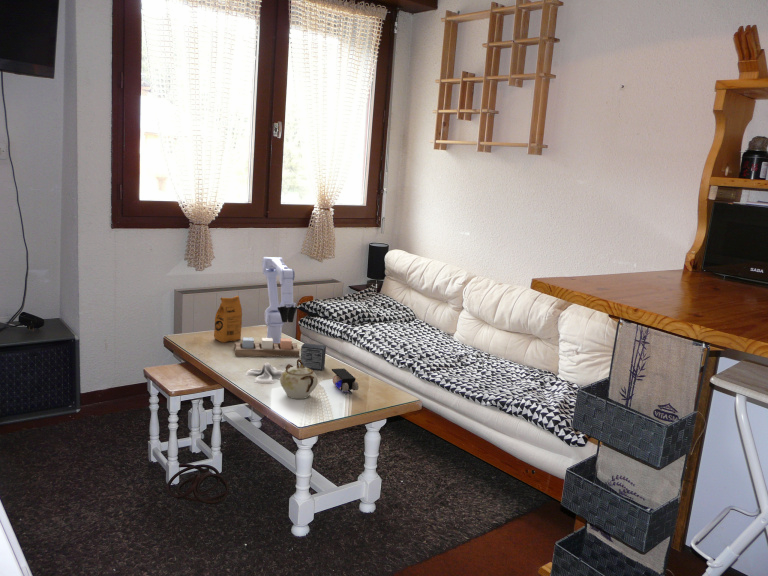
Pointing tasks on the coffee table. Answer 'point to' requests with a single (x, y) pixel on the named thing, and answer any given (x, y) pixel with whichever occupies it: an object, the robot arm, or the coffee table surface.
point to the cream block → (267, 343)
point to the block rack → (266, 350)
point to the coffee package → (228, 320)
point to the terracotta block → (285, 343)
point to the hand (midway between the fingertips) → (287, 322)
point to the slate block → (248, 342)
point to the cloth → (265, 374)
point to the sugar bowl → (298, 381)
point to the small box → (313, 356)
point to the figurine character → (344, 380)
